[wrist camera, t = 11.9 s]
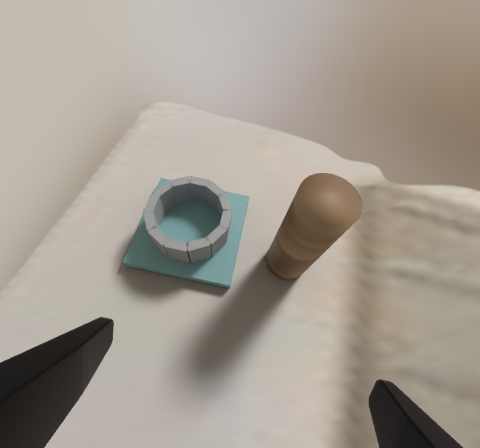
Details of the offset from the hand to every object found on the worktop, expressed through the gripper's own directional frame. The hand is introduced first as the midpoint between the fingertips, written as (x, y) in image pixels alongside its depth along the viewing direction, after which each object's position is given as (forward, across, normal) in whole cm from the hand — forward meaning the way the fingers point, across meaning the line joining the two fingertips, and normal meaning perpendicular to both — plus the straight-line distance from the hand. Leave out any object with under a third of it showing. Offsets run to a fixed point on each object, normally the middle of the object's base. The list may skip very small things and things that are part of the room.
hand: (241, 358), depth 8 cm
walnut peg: (+16, -4, +3) cm, 17 cm away
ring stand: (+17, +6, +2) cm, 18 cm away
